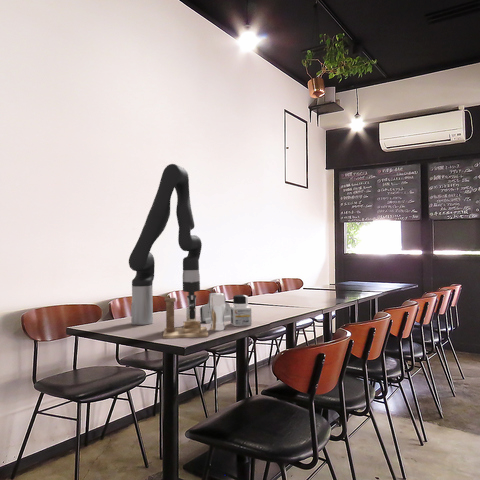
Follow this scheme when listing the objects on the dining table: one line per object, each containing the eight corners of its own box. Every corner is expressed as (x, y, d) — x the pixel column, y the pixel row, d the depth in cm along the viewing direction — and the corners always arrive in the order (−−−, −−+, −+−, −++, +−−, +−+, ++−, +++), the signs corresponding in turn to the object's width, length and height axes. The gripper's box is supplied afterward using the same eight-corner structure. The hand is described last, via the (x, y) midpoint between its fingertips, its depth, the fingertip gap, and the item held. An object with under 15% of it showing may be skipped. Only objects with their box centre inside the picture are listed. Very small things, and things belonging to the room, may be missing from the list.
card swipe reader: (205, 323, 187) (201, 302, 190) (200, 326, 190) (196, 304, 193) (235, 319, 197) (231, 299, 200) (230, 322, 200) (226, 301, 203)
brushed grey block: (186, 327, 179) (186, 308, 179) (186, 325, 183) (186, 307, 183) (195, 326, 179) (195, 308, 180) (195, 325, 183) (195, 307, 184)
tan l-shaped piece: (163, 338, 156) (162, 301, 156) (164, 330, 172) (164, 296, 172) (208, 336, 158) (207, 299, 159) (205, 328, 174) (205, 295, 174)
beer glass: (217, 327, 177) (216, 292, 177) (229, 329, 173) (228, 293, 173) (205, 330, 172) (205, 293, 172) (218, 331, 167) (217, 294, 168)
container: (234, 326, 179) (234, 296, 180) (230, 323, 187) (230, 294, 187) (251, 325, 181) (251, 295, 182) (246, 322, 189) (246, 293, 189)
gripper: (182, 279, 188) (183, 315, 188) (182, 281, 174) (183, 320, 174) (199, 279, 189) (199, 314, 189) (200, 281, 175) (201, 319, 175)
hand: (192, 317), depth 181 cm, fingers open, 8 cm apart
